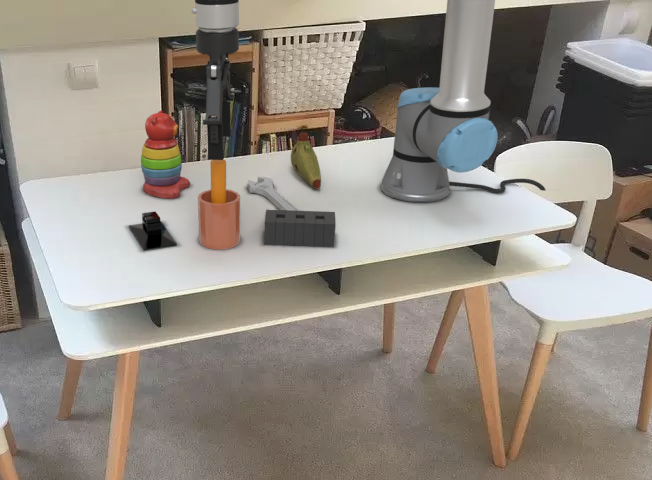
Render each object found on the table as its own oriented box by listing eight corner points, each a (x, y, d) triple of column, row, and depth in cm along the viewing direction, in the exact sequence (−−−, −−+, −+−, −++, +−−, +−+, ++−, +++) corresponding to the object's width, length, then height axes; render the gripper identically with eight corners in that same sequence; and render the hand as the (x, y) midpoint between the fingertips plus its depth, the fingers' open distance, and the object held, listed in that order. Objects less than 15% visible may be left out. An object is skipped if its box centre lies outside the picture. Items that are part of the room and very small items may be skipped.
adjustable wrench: (308, 223, 162) (308, 215, 161) (279, 227, 160) (279, 219, 159) (268, 182, 182) (268, 175, 181) (242, 185, 180) (242, 178, 179)
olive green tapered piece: (330, 192, 176) (332, 150, 171) (307, 194, 175) (309, 152, 170) (304, 163, 193) (306, 124, 188) (284, 165, 192) (285, 126, 187)
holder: (333, 234, 156) (335, 211, 154) (333, 247, 151) (335, 223, 149) (265, 232, 158) (266, 209, 155) (263, 244, 153) (264, 221, 150)
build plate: (128, 227, 161) (126, 206, 158) (161, 222, 163) (160, 202, 160) (143, 251, 151) (141, 229, 148) (178, 245, 153) (177, 224, 150)
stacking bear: (176, 200, 173) (172, 122, 164) (135, 195, 176) (129, 118, 166) (192, 183, 182) (190, 108, 172) (153, 179, 185) (148, 105, 175)
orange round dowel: (227, 235, 155) (226, 159, 147) (225, 241, 153) (225, 164, 144) (212, 234, 156) (211, 158, 147) (210, 240, 153) (209, 163, 145)
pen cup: (241, 233, 158) (241, 189, 152) (237, 250, 151) (238, 205, 146) (202, 231, 158) (201, 188, 153) (196, 248, 151) (195, 203, 146)
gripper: (204, 15, 144) (208, 126, 155) (185, 43, 123) (191, 169, 134) (244, 15, 143) (244, 127, 154) (231, 43, 122) (233, 170, 133)
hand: (219, 147), depth 144 cm, fingers open, 13 cm apart
